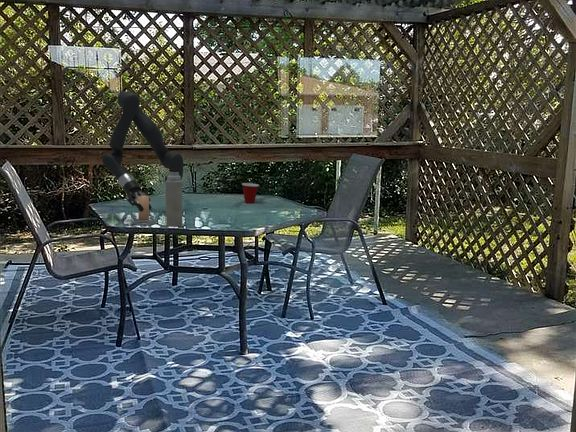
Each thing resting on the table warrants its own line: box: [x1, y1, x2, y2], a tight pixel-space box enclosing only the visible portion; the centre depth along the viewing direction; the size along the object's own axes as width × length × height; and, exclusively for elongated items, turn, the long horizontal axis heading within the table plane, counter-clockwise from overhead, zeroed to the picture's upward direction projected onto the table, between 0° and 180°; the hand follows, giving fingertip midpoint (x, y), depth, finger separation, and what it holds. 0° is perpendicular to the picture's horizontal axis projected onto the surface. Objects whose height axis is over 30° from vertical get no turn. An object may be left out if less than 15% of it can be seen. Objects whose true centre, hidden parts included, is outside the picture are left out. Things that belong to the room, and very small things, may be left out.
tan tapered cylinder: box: [137, 195, 150, 221], centre depth 312 cm, size 5×5×12 cm
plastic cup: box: [241, 182, 260, 205], centre depth 383 cm, size 11×11×12 cm
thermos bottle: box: [165, 169, 183, 228], centre depth 307 cm, size 8×8×28 cm
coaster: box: [131, 219, 157, 226], centre depth 314 cm, size 12×12×1 cm
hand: (146, 209), depth 312 cm, fingers closed on tan tapered cylinder, 5 cm apart
